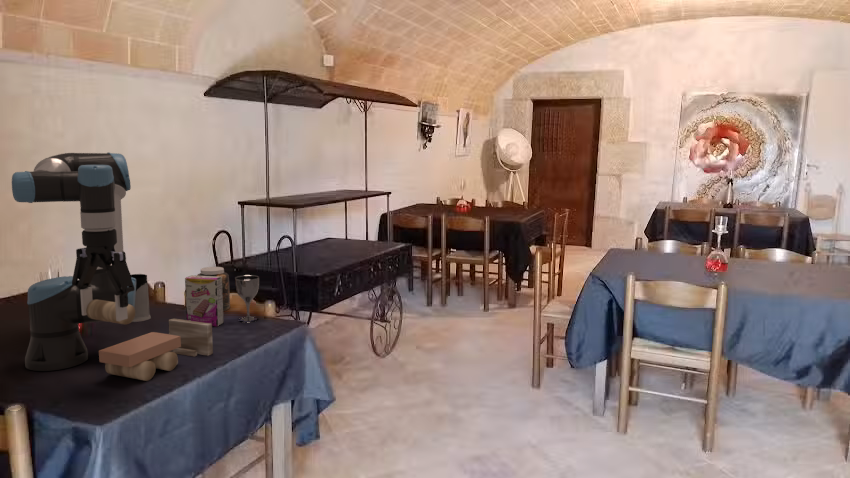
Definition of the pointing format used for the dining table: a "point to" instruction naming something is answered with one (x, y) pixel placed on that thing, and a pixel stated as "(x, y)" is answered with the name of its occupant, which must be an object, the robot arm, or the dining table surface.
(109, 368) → the roller rack
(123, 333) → the dining table surface
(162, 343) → the slab
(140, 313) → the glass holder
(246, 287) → the wine glass
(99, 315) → the roller loose
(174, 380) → the dining table surface
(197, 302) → the candy bar box
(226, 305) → the jar
